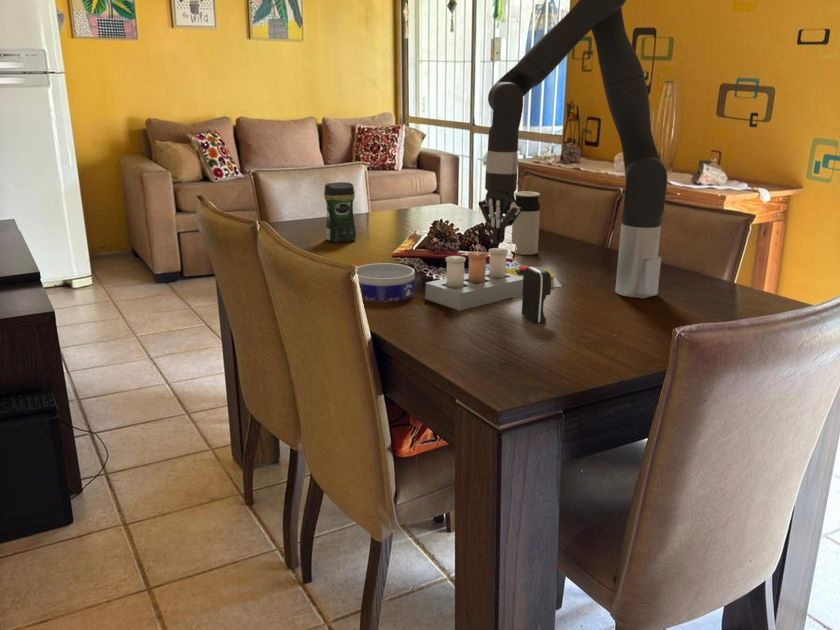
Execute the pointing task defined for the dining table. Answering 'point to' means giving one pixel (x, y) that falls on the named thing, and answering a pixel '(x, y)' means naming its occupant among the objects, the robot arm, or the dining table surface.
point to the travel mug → (526, 223)
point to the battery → (535, 293)
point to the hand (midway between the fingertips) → (497, 242)
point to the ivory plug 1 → (455, 271)
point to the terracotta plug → (477, 267)
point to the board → (474, 291)
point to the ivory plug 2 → (497, 263)
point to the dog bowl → (386, 282)
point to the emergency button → (520, 273)
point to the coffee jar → (340, 211)
